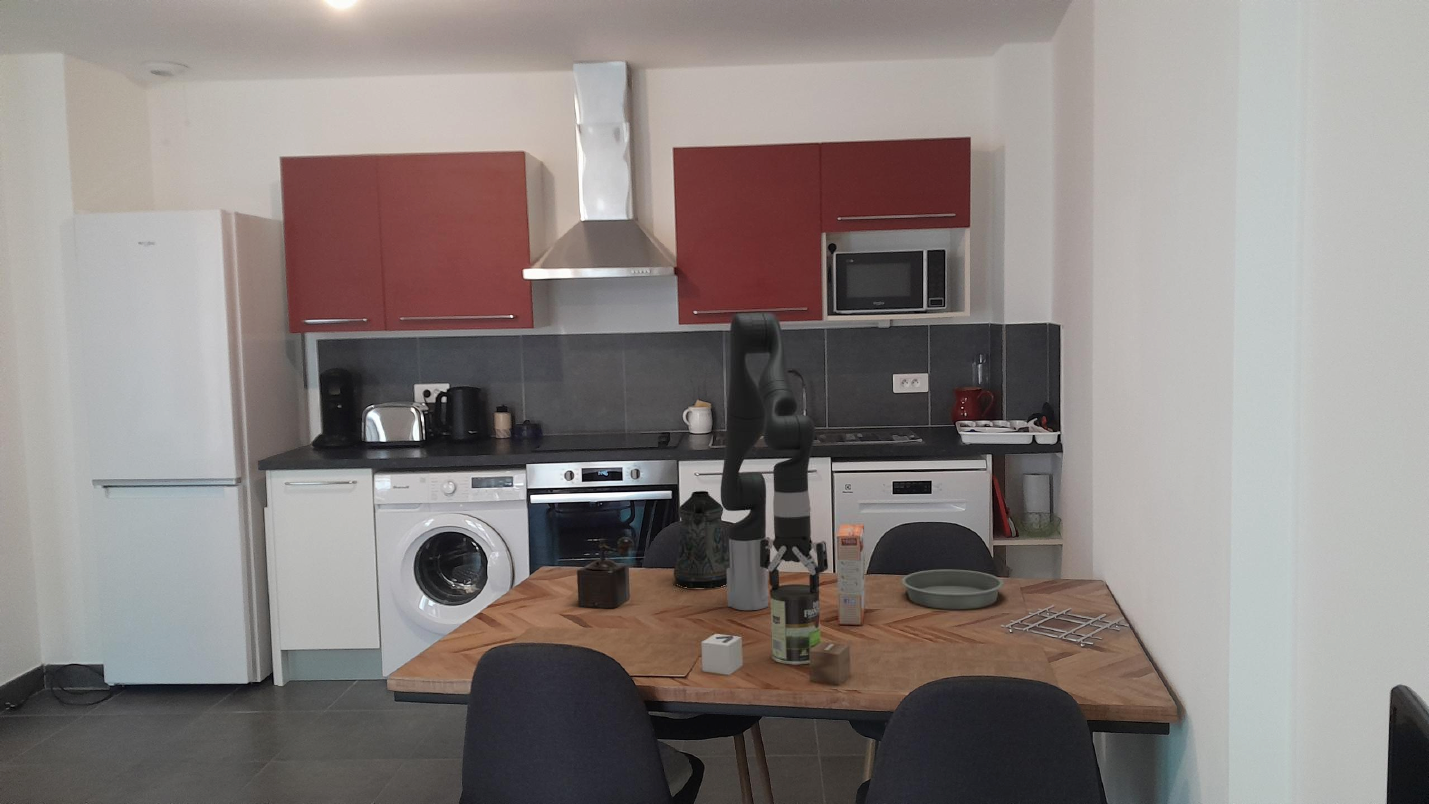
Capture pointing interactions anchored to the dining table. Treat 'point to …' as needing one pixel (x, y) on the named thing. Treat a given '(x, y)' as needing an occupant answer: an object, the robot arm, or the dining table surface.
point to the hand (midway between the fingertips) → (794, 590)
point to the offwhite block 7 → (722, 654)
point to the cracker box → (851, 574)
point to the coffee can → (794, 623)
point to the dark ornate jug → (701, 544)
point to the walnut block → (829, 662)
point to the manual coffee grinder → (605, 579)
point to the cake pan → (952, 588)
